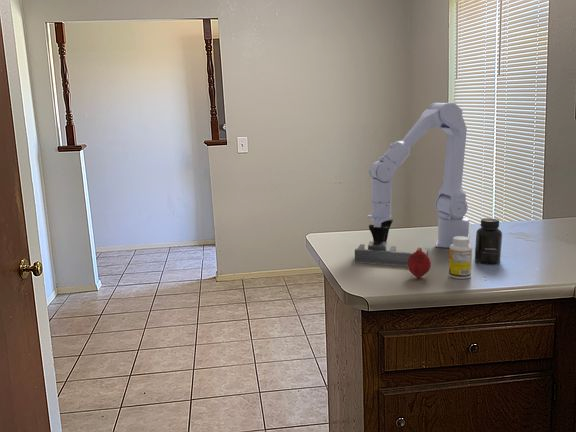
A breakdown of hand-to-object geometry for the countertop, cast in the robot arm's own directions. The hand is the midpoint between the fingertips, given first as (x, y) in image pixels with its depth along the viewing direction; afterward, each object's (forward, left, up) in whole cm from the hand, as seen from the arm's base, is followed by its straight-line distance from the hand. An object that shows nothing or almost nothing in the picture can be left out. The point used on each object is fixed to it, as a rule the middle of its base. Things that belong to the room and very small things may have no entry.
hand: (380, 245), depth 171 cm
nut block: (0, +7, -2) cm, 7 cm away
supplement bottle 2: (-31, +4, -2) cm, 31 cm away
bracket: (-5, +10, -2) cm, 11 cm away
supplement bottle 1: (-24, +20, -2) cm, 31 cm away
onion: (-14, +24, -2) cm, 28 cm away
